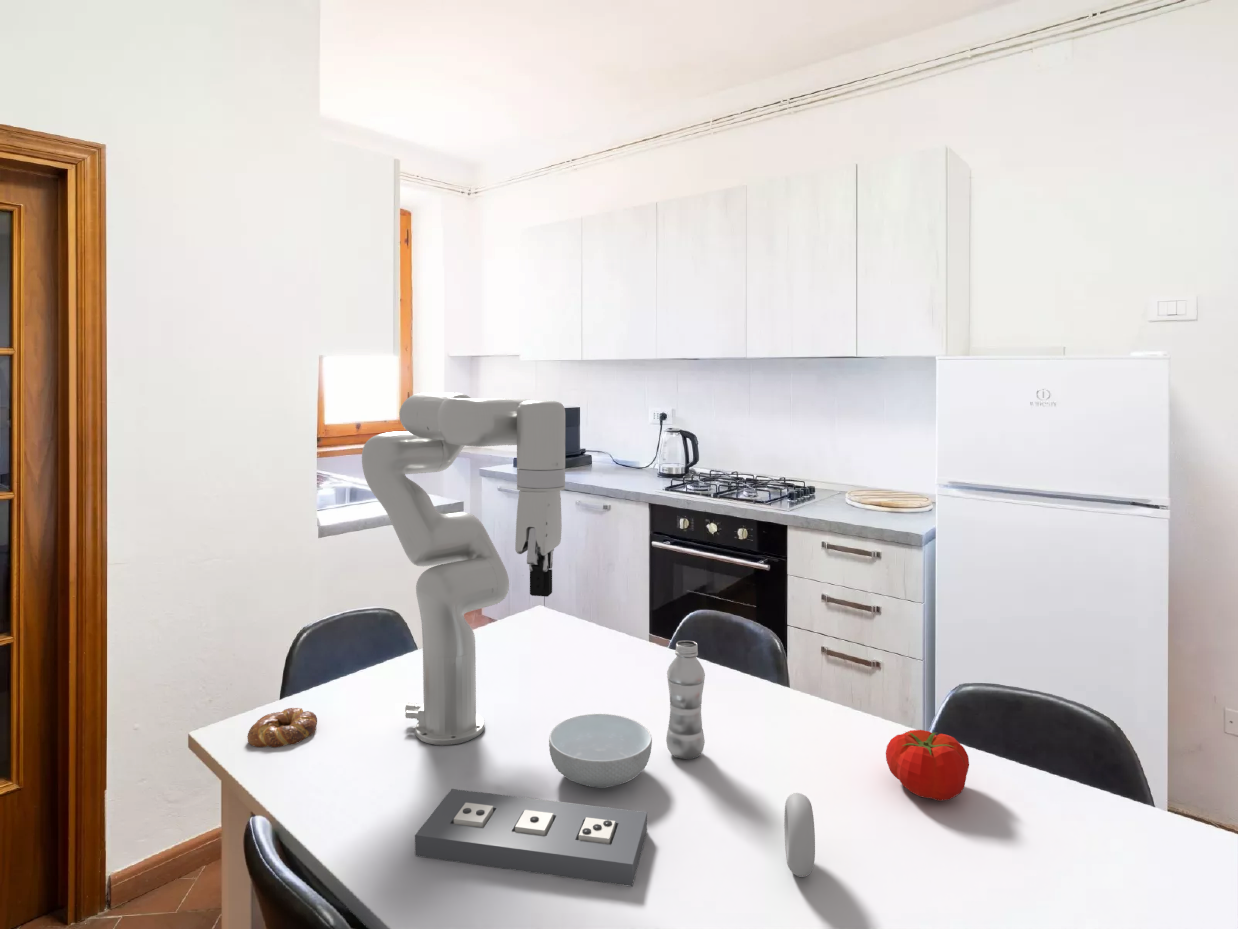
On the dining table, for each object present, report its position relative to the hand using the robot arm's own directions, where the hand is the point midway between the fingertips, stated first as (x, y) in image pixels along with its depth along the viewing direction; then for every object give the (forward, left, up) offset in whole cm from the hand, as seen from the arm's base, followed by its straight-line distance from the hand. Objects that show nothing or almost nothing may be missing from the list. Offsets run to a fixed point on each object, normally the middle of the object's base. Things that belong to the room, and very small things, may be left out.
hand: (541, 594), depth 116 cm
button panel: (+4, -16, -31) cm, 35 cm away
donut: (+40, -14, -31) cm, 53 cm away
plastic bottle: (+22, +14, -31) cm, 41 cm away
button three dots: (+13, -16, -30) cm, 36 cm away
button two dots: (-5, -16, -30) cm, 34 cm away
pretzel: (-51, +6, -32) cm, 60 cm away
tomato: (+61, +11, -31) cm, 69 cm away
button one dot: (+4, -16, -30) cm, 34 cm away
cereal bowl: (+9, +4, -31) cm, 33 cm away
